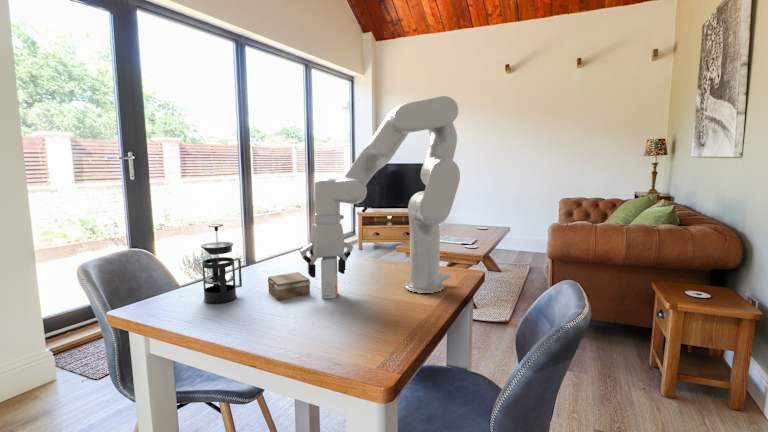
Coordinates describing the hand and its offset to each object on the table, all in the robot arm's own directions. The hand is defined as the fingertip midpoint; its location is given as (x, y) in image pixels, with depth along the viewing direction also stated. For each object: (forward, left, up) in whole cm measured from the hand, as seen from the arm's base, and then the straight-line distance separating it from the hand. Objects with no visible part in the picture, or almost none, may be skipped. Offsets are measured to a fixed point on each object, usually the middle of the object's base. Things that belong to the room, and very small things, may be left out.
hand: (327, 274), depth 131 cm
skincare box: (-1, 0, -7) cm, 7 cm away
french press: (+28, -15, -7) cm, 33 cm away
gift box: (+9, -9, -7) cm, 14 cm away
